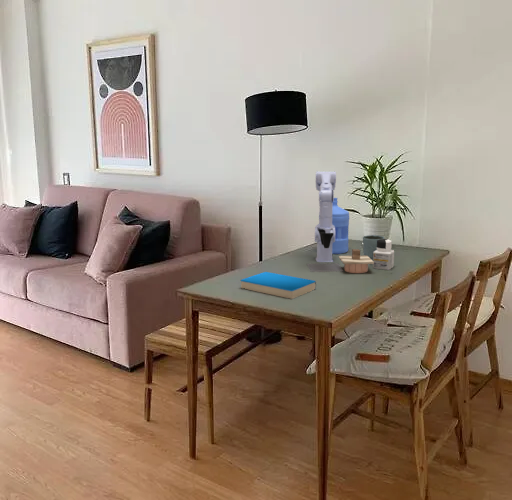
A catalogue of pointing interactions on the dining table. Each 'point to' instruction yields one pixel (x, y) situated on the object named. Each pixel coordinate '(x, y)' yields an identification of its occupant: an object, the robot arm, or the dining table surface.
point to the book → (278, 284)
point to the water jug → (340, 228)
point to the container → (383, 255)
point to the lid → (356, 258)
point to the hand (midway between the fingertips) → (325, 246)
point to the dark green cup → (370, 245)
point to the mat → (324, 267)
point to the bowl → (356, 268)
